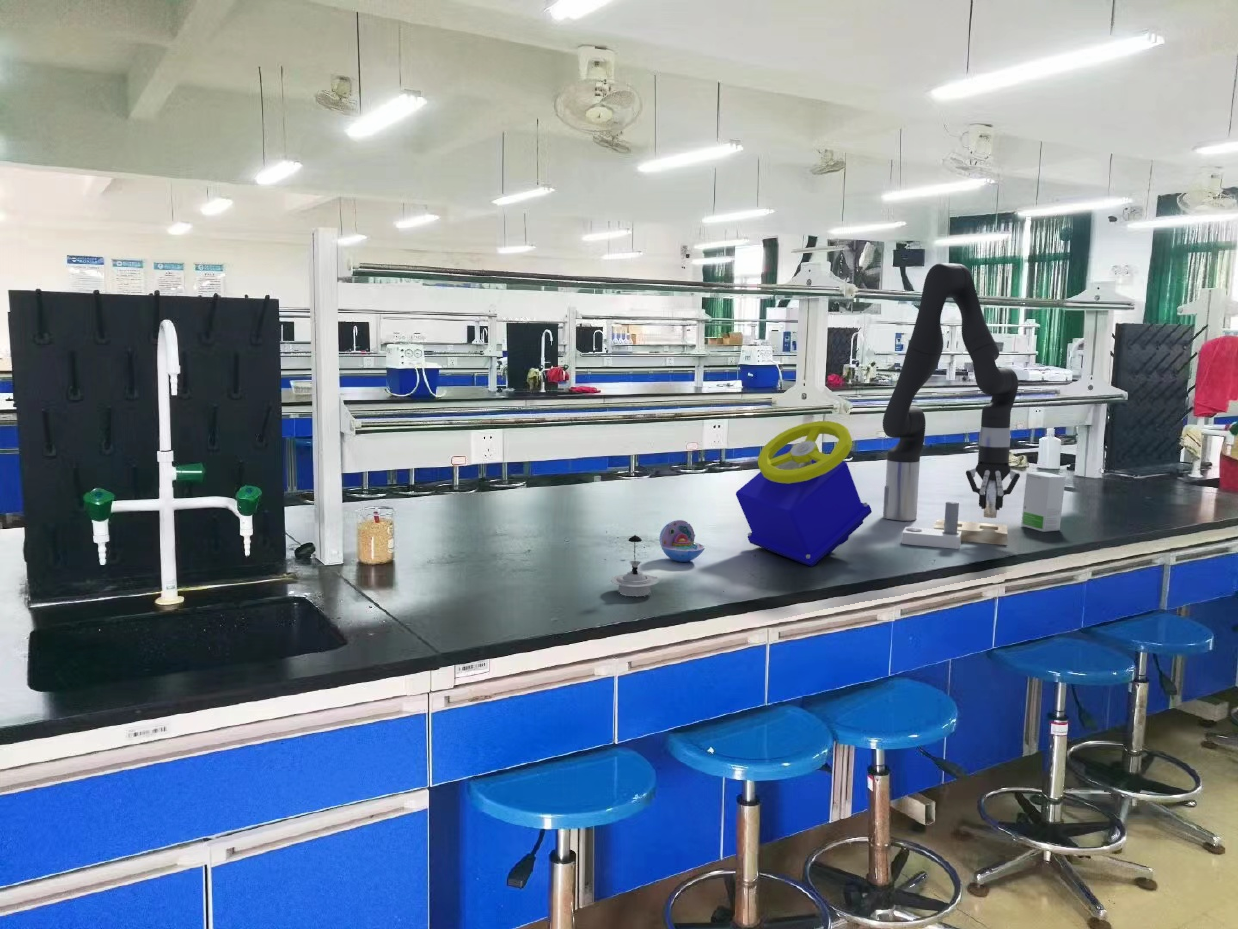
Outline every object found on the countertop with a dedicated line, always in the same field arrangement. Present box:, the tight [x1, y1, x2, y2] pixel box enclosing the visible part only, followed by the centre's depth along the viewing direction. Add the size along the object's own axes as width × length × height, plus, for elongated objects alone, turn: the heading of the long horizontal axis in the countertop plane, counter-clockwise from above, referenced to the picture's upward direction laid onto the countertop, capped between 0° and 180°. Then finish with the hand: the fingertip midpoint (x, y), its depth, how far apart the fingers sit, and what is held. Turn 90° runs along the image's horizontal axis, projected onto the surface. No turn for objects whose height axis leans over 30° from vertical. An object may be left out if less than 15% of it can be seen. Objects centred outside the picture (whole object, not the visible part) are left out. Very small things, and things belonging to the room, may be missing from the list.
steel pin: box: [983, 480, 998, 519], centre depth 239 cm, size 3×3×10 cm
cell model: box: [658, 519, 705, 563], centre depth 213 cm, size 10×12×10 cm
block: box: [901, 501, 962, 550], centre depth 234 cm, size 14×8×11 cm, turn 67°
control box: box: [735, 420, 873, 568], centre depth 217 cm, size 26×27×30 cm
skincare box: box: [1020, 471, 1066, 533], centre depth 253 cm, size 8×7×16 cm
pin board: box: [933, 519, 1008, 546], centre depth 242 cm, size 18×12×3 cm, turn 67°
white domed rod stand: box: [610, 534, 660, 595], centre depth 186 cm, size 12×10×10 cm
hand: (990, 508), depth 239 cm, fingers closed on steel pin, 3 cm apart
